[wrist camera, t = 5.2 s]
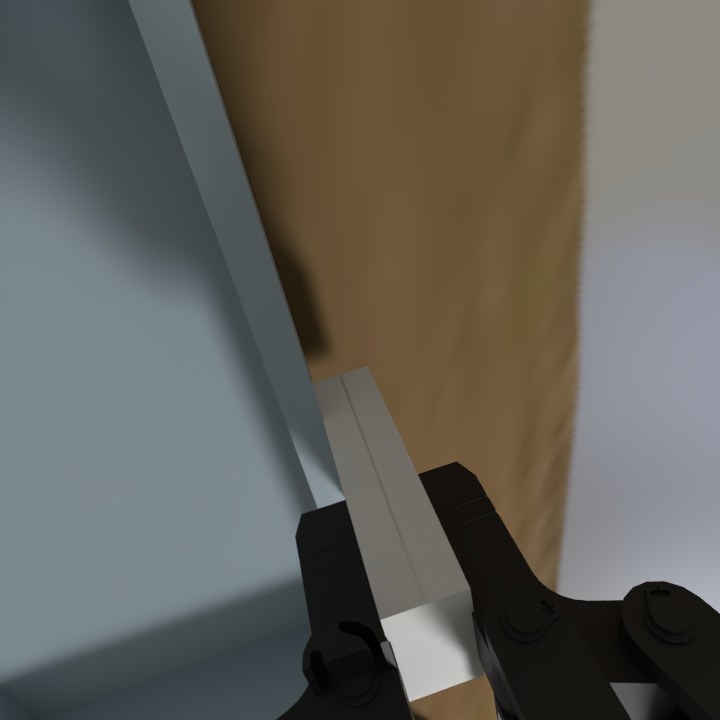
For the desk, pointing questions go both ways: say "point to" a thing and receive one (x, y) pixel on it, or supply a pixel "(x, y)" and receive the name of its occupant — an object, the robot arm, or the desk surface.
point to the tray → (143, 384)
